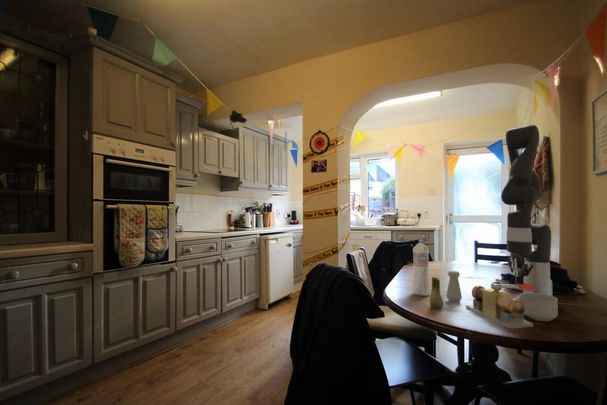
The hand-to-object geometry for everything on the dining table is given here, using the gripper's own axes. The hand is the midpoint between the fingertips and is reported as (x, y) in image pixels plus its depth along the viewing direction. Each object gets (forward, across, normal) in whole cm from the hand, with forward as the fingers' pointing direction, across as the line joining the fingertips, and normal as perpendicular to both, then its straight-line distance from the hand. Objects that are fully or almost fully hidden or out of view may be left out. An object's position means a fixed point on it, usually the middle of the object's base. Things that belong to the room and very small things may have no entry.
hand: (519, 286), depth 108 cm
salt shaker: (+11, +12, +19) cm, 25 cm away
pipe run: (+11, -4, +9) cm, 15 cm away
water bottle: (+11, +21, +30) cm, 38 cm away
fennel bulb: (+11, +3, +28) cm, 30 cm away
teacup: (+11, -1, -6) cm, 12 cm away
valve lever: (+1, -3, +4) cm, 5 cm away
